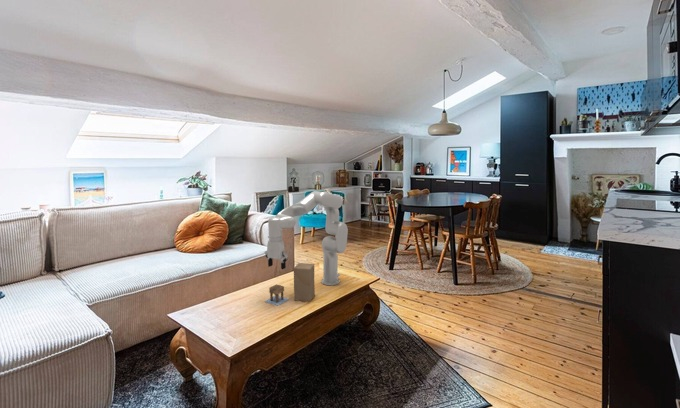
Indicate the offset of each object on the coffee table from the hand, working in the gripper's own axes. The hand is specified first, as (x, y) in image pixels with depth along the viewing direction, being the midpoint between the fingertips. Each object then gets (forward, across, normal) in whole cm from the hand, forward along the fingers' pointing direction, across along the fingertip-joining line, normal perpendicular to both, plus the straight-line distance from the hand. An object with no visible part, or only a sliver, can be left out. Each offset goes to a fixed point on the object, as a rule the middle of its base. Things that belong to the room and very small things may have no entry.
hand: (276, 267), depth 201 cm
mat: (+20, 0, -1) cm, 20 cm away
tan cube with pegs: (+20, 0, -1) cm, 20 cm away
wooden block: (+21, +11, +11) cm, 26 cm away
